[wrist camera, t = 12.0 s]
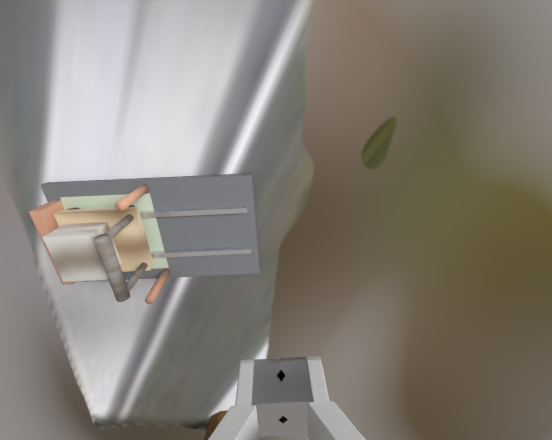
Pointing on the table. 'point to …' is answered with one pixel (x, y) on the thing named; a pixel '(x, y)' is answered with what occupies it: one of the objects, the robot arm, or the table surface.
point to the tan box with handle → (100, 246)
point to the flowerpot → (214, 423)
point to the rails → (191, 213)
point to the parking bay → (138, 198)
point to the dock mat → (188, 219)
